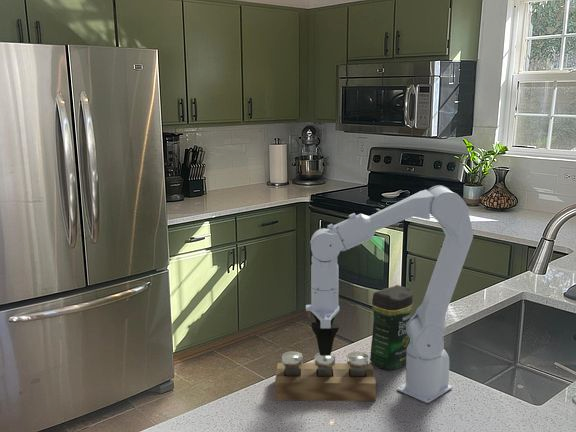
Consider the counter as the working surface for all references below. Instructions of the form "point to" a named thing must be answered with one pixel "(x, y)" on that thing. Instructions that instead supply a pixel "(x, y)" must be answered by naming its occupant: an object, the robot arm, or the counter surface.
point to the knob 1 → (292, 363)
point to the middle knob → (324, 364)
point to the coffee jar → (390, 327)
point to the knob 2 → (357, 363)
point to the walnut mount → (325, 384)
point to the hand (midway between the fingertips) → (324, 347)
